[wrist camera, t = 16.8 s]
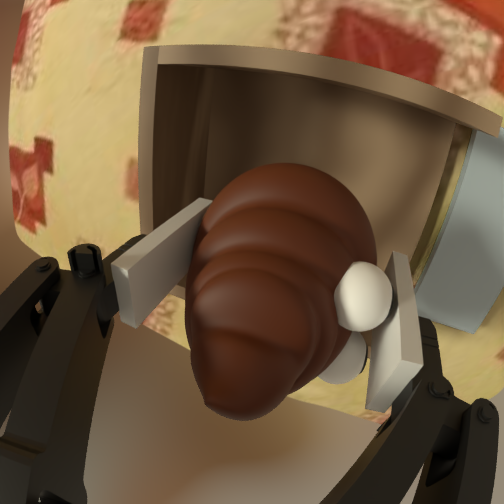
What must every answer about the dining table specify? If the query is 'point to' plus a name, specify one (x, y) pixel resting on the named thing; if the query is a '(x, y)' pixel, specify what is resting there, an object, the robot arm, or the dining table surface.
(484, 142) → the door
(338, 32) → the dining table surface
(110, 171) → the dining table surface
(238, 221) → the poop emoji
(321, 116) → the box
